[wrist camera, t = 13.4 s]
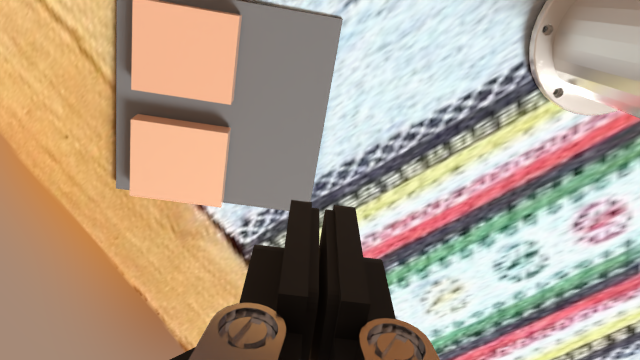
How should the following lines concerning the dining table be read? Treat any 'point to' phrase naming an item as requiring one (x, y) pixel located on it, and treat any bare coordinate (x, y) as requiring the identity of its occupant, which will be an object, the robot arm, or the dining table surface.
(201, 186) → the peach flat block
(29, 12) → the dining table surface
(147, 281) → the dining table surface
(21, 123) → the dining table surface
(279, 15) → the rubber mat
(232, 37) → the terracotta tile
